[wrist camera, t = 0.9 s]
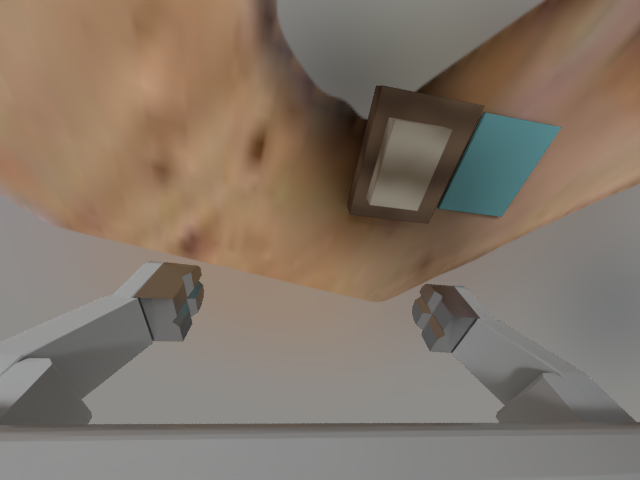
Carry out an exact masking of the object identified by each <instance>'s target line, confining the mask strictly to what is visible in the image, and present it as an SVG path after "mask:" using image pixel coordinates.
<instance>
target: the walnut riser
mask: <svg viewBox="0 0 640 480" xmlns="http://www.w3.org/2000/svg"><path fill="white" fill-rule="evenodd" d="M483 108H484V106H483V105H478V104H473V103H468V102H463V101H458V100H453V99H448V98H443V97H438V96H433V95H428V94H423V93H417V92H412V91H407V90H402V89H397V88H392V87H387V86H376V89H375V92H374V96H373V101H372V105H371V109H370V113H369V117H368V121H367V125H366V129H365V134H364V138H363V142H362V146H361V150H360V154H359V158H358V163H357V167H356V171H355V175H354V179H353V183H352V187H351V192H350V196H349V200H348V204H347V208H348V211H349V213H350V215H359V216H367V217H376V218H384V219H393V220H401V221H410V222H418V223H426V224H428V223H429V221H430V219H431V217H432V215H433V213H434V211H435V209H436V206H437V204H438V202H439V200H440V198H441V196H442V194H443V192H444V190H445V188H446V186H447V183H448V181H449V179H450V177H451V175H452V173H453V171H454V169H455V167H456V165H457V163H458V160H459V158H460V156H461V154H462V152H463V150H464V148H465V146H466V144H467V142H468V140H469V137H470V135H471V133H472V131H473V129H474V127H475V125H476V123H477V121H478V119H479V117H480V115H481V112H482V110H483ZM389 117H390V118H396V119H401V120H407V121H412V122H418V123H424V124H429V125H435V126H440V127H445V128H448V129H452V132H451V134H450V137H449V139H448V141H447V144H446V146H445V148H444V151H443V153H442V155H441V158H440V160H439V162H438V164H437V167H436V169H435V171H434V174H433V176H432V178H431V181H430V183H429V185H428V188H427V190H426V192H425V194H424V197H423V199H422V201H421V204H420V206H419V208H418V211H414V210H406V209H398V208H390V207H382V206H374V205H370V204H369V203H368V201H367V199H366V197H367V193H368V190H369V186H370V183H371V179H372V176H373V172H374V169H375V165H376V162H377V158H378V155H379V151H380V148H381V144H382V141H383V137H384V134H385V130H386V127H387V123H388V120H389Z"/></svg>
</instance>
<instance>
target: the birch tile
mask: <svg viewBox="0 0 640 480" xmlns="http://www.w3.org/2000/svg"><path fill="white" fill-rule="evenodd" d="M451 132H452V129H448V128H445V127H440V126H435V125H429V124H424V123H418V122H412V121H407V120H401V119H396V118H390V117H389V120H388V123H387V127H386V130H385V134H384V137H383V141H382V144H381V148H380V151H379V155H378V158H377V162H376V165H375V169H374V172H373V176H372V179H371V183H370V186H369V190H368V193H367V197H366V199H367V201H368V203H369V204H370V205H374V206H382V207H390V208H398V209H406V210H414V211H418V208H419V206H420V204H421V201H422V199H423V197H424V194H425V192H426V190H427V188H428V185H429V183H430V181H431V178H432V176H433V174H434V171H435V169H436V167H437V164H438V162H439V160H440V158H441V155H442V153H443V151H444V148H445V146H446V144H447V141H448V139H449V137H450V134H451Z"/></svg>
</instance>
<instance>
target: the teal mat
mask: <svg viewBox="0 0 640 480" xmlns="http://www.w3.org/2000/svg"><path fill="white" fill-rule="evenodd" d="M560 129H561V127H557V126H552V125H547V124H542V123H536V122H531V121H526V120H521V119H516V118H511V117H505V116H500V115H495V114H490V113H483V115H482V117H481V119H480V121H479V123H478V125H477V127H476V129H475V131H474V133H473V135H472V138H471V140H470V142H469V144H468V146H467V148H466V150H465V152H464V154H463V156H462V158H461V160H460V162H459V164H458V166H457V169H456V171H455V173H454V175H453V177H452V179H451V181H450V183H449V185H448V187H447V189H446V191H445V193H444V195H443V198H442V200H441V202H440V204H439V206H438V208H439V209H445V210H453V211H461V212H469V213H476V214H484V215H492V216H500V217H502V215H503V214H504V212H505V211H506V209H507V208H508V206H509V205H510V203H511V202H512V200H513V199H514V197H515V196H516V194H517V193H518V191H519V190H520V188H521V187H522V185H523V184H524V182H525V181H526V180H527V178H528V177H529V175H530V174H531V172H532V171H533V169H534V168H535V166H536V165H537V163H538V162H539V160H540V159H541V157H542V156H543V154H544V153H545V151H546V150H547V148H548V147H549V145H550V144H551V142H552V141H553V139H554V138H555V136H556V135H557V133H558V132H559V130H560Z"/></svg>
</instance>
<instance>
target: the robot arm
mask: <svg viewBox="0 0 640 480" xmlns="http://www.w3.org/2000/svg"><path fill="white" fill-rule="evenodd" d="M200 277H201V269H200V267H199V266H196V265H187V264H177V263H167V262H166V263H164V262H154V261H149V262H146V263H144V264H143V265H142V266H141V267H140V268H139V269H138V270H137V271H136V272H135V273H134V274H133V275H132V276H131V277H130V278H129V279H128V280H127V281H126V282H125V283H124V284H123V285H122V286H121V287H120V288H119V289H118V290H117V291H116V292H115V293H114V294H113V295H112V296H104V297H102V298H100V299H97V300H95V301H93V302H90V303H88V304H86V305H84V306H81V307H79V308H77V309H74V310H72V311H70V312H68V313H66V314H63V315H61V316H59V317H56V318H54V319H52V320H49V321H47V322H45V323H43V324H40V325H38V326H36V327H34V328H31V329H29V330H27V331H25V332H22V333H20V334H17V335H15V336H13V337H11V338H8V339H6V340H4V341H1V342H0V480H640V422H636V421H635V420H634V419H633V418H632V417H631V416H630V415H629V414H628V413H627V412H625V410H623V409H622V408H621V407H620V406H619V405H618V404H617V403H616V402H615V401H614V400H613V399H612V398H611V397H610V396H609V395H608V394H607V393H606V392H605V391H604V390H603V389H602V388H601V387H599V386H598V385H597V384H596V383H595V382H594V381H593V380H592V379H591V378H590V377H589V376H588V375H587V374H586V373H585V372H583V371H581V370H580V369H578V368H576V367H575V366H573V365H572V364H570V363H568V362H567V361H565V360H563V359H562V358H560V357H558V356H557V355H555V354H554V353H552V352H550V351H549V350H547V349H545V348H544V347H542V346H541V345H539V344H537V343H536V342H534V341H532V340H530V339H529V338H527V337H526V336H524V335H523V334H521V333H519V332H518V331H516V330H514V329H513V328H511V327H509V326H508V325H506V324H505V323H503V322H501V321H500V320H495V319H494V318H493V317H492V316H491V315H490V313H489V312H488V311H487V310H486V309H485V308H484V307H483V306H482V305H481V303H480V302H479V301H478V300H477V299H476V298H475V297H474V296H473V294H472V293H471V292H470V291H469V290H468V289H467V288H465V287H463V286H445V285H432V284H425V285H424V286H423V287H422V288H421V290H420V294H421V297H419V298H418V299H417V300H415V302H414V305H413V309H412V314H413V318H414V321H415V323H416V325H417V326H419V327H420V328H421V329H422V330H423V331H422V337H423V338H424V341H425V342H426V344H427V346H428V348H429V350H430V351H433V352H449V353H452V355H453V356H454V357H455V358H456V359H457V360H458V361H460V362H461V363H462V364H463V365H464V366H465V367H466V368H467V369H468V370H469V371H470V372H471V373H472V374H473V375H474V376H475V377H476V378H477V379H478V380H479V381H480V382H481V383H482V384H483V385H484V386H485V387H486V388H488V390H490V392H492V393H493V394H494V395H495V396H496V397H497V398H498V399H499V400H500V401H501V402H502V403H503V404H504V405H505V406H504V407H503V408H502V409H501V410H499V411H498V412H497V415H496V418H497V419H498V421H499V423H324V424H323V423H316V424H315V423H312V424H309V423H306V424H305V423H302V424H88V423H89V421H90V420H91V418H92V414H91V411H90V410H89V409H88V407H87V406H86V405H85V403H84V402H83V401H82V398H84V397H85V396H86V395H87V394H88V393H90V392H91V391H92V390H94V389H95V388H96V387H98V386H99V385H100V384H101V383H103V382H104V381H105V380H106V379H108V378H109V377H110V376H111V375H113V374H114V373H115V372H117V371H118V370H119V369H120V368H122V367H123V366H124V365H125V364H126V363H128V362H129V361H131V360H132V359H133V358H134V357H135V356H137V355H138V354H139V353H141V352H142V351H143V350H144V349H146V348H147V347H148V346H149V345H151V344H152V343H153V341H183V340H184V339H185V337H186V335H187V333H188V331H189V329H190V327H191V325H192V319H191V317H192V316H193V315H195V314H196V313H198V311H199V309H200V307H201V304H202V301H203V297H204V296H203V295H204V289H203V285H202V284H201V283H200V282H199V279H200Z"/></svg>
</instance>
